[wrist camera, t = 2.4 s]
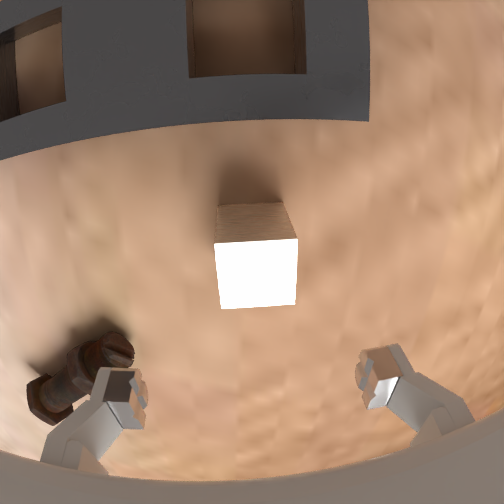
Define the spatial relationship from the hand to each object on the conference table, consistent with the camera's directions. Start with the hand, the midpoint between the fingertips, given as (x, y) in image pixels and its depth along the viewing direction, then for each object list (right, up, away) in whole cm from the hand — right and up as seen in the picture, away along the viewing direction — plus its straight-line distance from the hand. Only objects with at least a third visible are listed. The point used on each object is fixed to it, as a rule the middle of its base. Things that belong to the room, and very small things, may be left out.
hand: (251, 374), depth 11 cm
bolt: (-16, -6, +16) cm, 23 cm away
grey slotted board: (-6, +16, +3) cm, 18 cm away
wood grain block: (0, +6, +10) cm, 11 cm away
